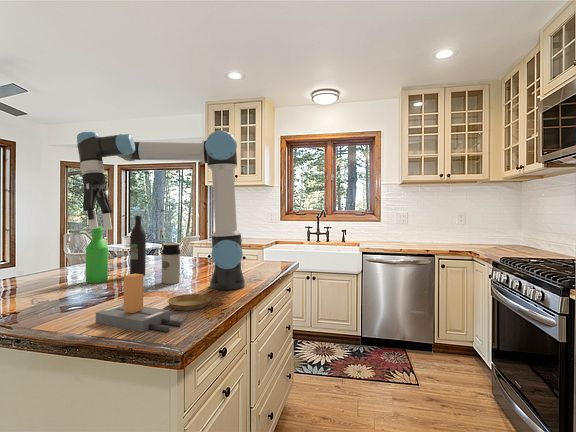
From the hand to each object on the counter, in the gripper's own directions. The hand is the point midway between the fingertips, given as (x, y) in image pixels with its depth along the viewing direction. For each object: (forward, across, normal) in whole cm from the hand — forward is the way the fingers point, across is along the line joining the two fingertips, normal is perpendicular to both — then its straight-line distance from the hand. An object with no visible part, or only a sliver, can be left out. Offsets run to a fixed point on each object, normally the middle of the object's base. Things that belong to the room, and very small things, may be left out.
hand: (101, 229), depth 129 cm
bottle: (+21, -31, -17) cm, 41 cm away
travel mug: (+27, -28, +16) cm, 42 cm away
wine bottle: (+22, -44, -3) cm, 49 cm away
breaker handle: (+28, +27, +15) cm, 42 cm away
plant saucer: (+33, +11, +29) cm, 45 cm away
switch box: (+32, +28, +18) cm, 46 cm away
